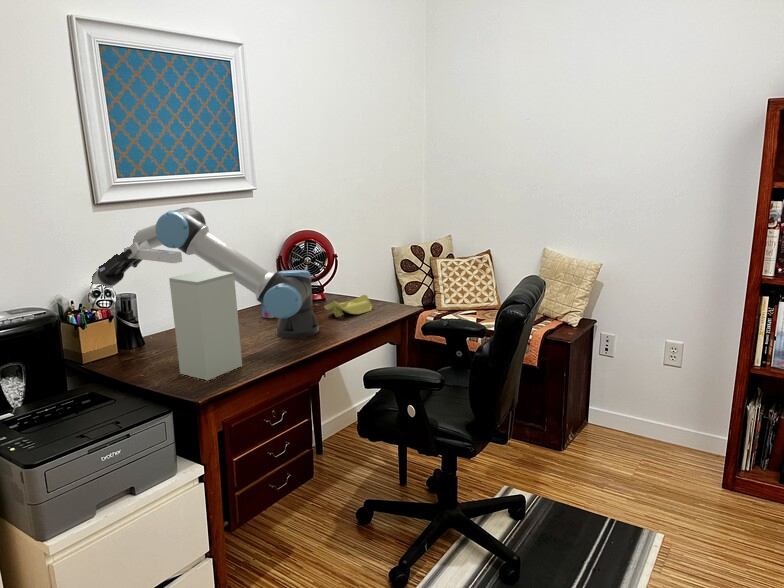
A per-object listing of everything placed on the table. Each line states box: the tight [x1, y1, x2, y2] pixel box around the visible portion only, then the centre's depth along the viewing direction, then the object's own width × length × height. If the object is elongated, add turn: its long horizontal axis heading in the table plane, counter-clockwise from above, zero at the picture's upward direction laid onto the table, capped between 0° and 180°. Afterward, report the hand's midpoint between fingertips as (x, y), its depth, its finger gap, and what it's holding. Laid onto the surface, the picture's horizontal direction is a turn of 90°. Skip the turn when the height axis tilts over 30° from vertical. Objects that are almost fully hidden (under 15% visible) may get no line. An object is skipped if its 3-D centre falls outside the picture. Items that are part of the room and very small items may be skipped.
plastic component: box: [323, 294, 373, 318], centre depth 251 cm, size 20×7×10 cm
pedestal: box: [168, 268, 243, 380], centre depth 188 cm, size 12×14×30 cm
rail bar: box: [124, 247, 183, 264], centre depth 195 cm, size 24×3×3 cm, turn 58°
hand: (142, 245), depth 197 cm, fingers closed on rail bar, 3 cm apart
